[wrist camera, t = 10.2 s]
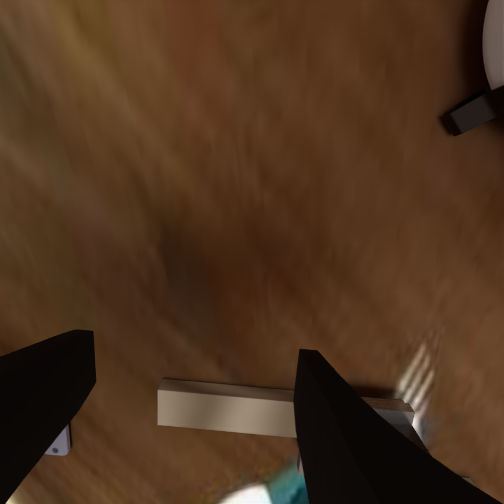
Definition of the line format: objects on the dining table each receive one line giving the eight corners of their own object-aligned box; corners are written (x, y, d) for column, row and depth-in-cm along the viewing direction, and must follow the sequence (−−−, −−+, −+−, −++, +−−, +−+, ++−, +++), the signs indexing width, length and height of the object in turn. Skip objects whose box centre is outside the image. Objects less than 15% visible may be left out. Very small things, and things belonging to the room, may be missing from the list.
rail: (163, 412, 22) (157, 424, 21) (163, 378, 21) (157, 389, 20) (395, 433, 22) (403, 447, 21) (402, 400, 21) (411, 412, 20)
